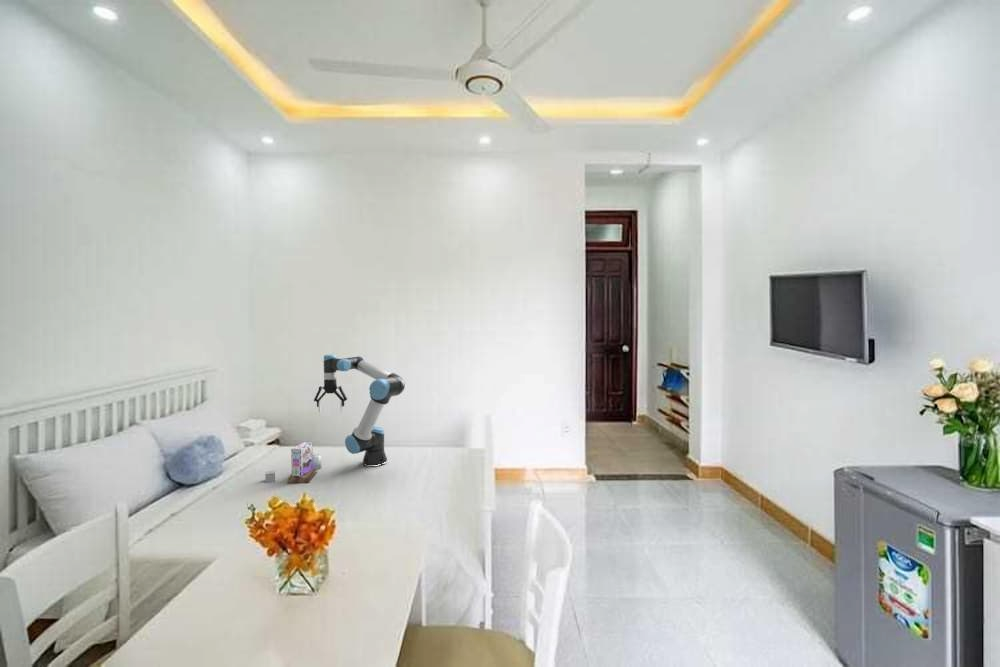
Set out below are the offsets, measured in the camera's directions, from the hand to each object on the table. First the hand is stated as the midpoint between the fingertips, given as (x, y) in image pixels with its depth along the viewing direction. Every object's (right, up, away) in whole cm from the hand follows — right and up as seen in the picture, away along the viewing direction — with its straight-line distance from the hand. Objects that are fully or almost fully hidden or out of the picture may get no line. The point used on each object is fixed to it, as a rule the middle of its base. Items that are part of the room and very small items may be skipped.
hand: (330, 411), depth 325 cm
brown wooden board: (-7, -35, -28) cm, 45 cm away
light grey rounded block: (-6, -33, -11) cm, 36 cm away
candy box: (-7, -32, -28) cm, 43 cm away
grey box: (-24, -35, -33) cm, 53 cm away
